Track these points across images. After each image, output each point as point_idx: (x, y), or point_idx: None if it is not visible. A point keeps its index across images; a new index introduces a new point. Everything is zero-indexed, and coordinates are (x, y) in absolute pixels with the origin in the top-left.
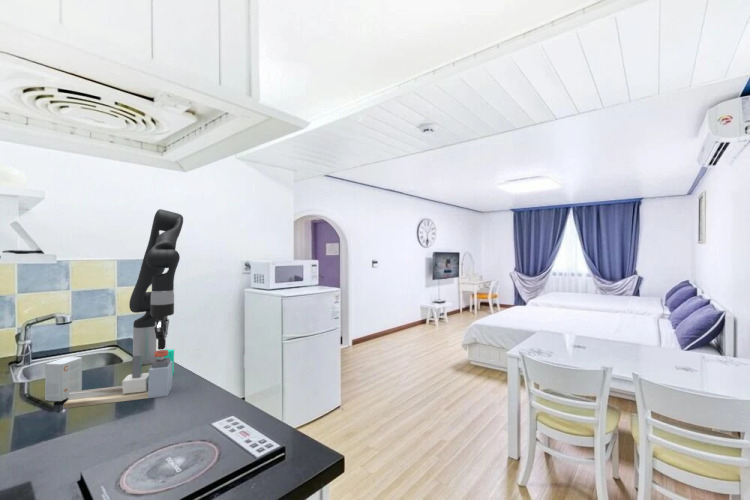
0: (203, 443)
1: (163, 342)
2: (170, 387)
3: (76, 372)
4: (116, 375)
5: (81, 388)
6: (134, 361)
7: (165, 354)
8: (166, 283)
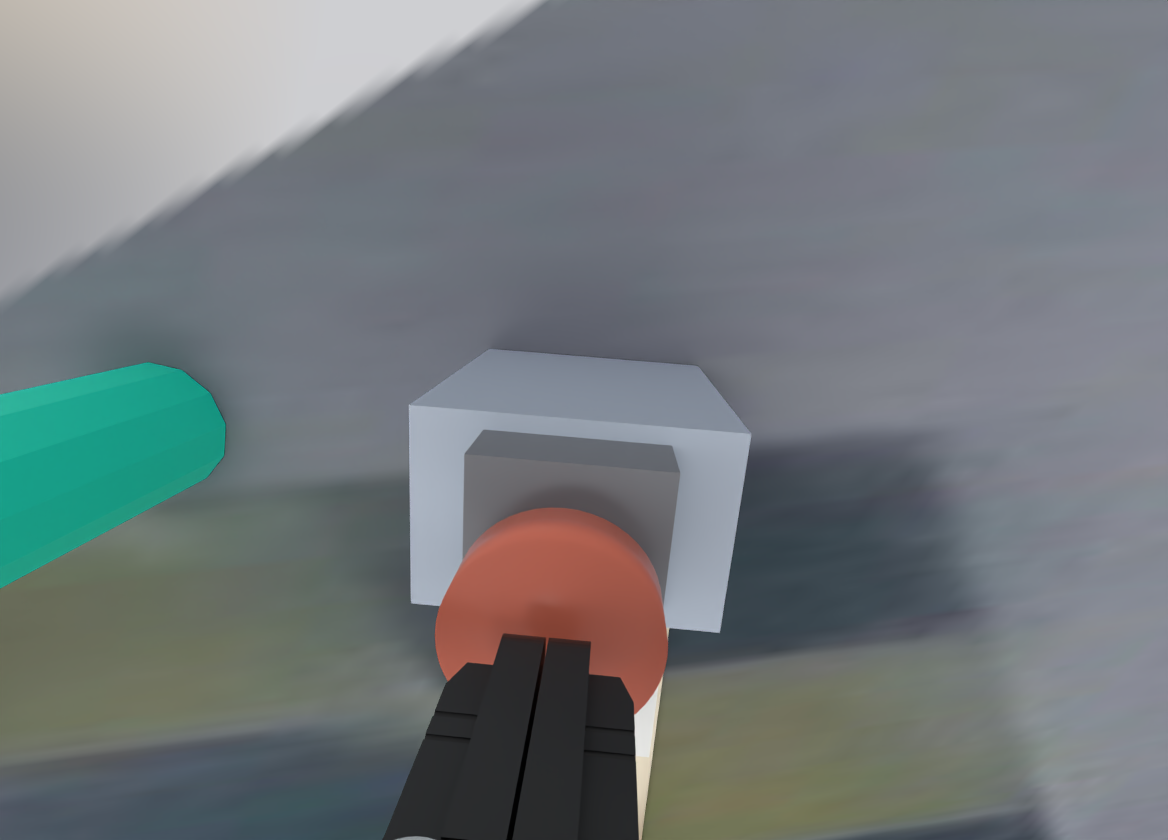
0: None
1: (593, 783)
2: (558, 358)
3: None
4: (88, 743)
5: None
6: None
7: (635, 554)
8: None
